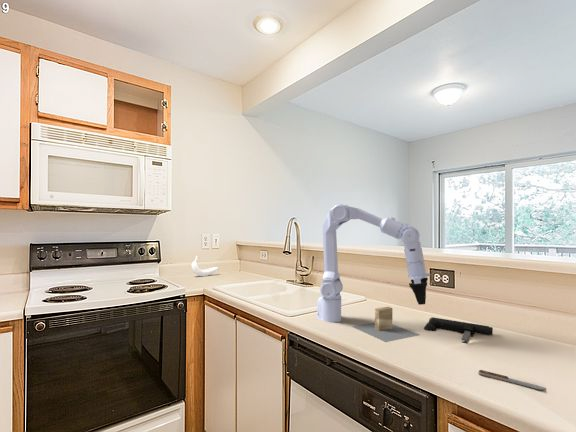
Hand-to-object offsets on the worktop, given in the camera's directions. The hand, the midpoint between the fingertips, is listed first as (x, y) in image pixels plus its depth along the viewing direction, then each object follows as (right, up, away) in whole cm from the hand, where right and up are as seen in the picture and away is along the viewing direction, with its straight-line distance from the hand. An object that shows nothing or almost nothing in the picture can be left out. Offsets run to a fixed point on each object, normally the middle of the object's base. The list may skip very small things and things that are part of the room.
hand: (422, 301), depth 115 cm
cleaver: (+8, -11, -34) cm, 37 cm away
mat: (-13, -10, 0) cm, 17 cm away
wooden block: (-13, -10, +2) cm, 16 cm away
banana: (-102, -12, +114) cm, 154 cm away
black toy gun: (+11, -11, -1) cm, 16 cm away
